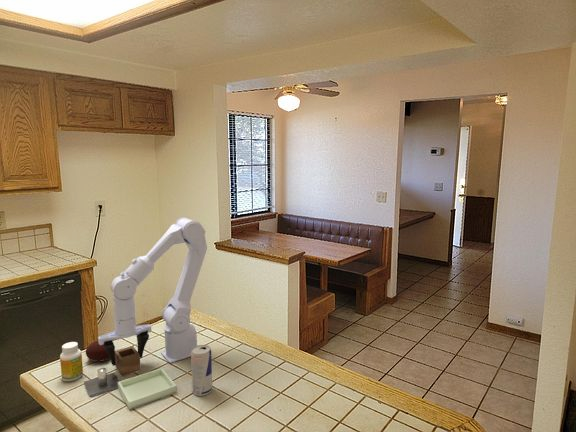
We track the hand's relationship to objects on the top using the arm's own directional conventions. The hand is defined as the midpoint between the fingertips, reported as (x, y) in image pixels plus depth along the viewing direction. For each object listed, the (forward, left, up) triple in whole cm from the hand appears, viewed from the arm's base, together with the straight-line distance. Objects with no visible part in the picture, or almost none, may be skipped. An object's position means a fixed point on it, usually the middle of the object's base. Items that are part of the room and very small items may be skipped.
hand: (127, 360), depth 116 cm
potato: (+5, -11, -3) cm, 12 cm away
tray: (-1, +15, -3) cm, 15 cm away
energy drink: (-13, +24, -3) cm, 27 cm away
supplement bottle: (+14, -5, -3) cm, 15 cm away
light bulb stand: (+8, +5, -3) cm, 10 cm away
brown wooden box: (0, 0, -3) cm, 3 cm away
